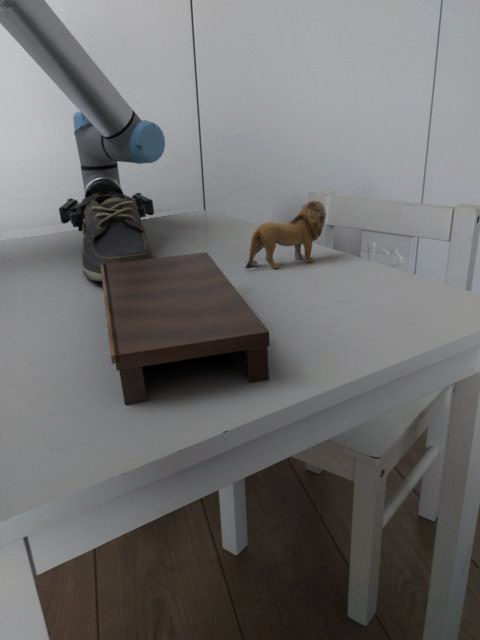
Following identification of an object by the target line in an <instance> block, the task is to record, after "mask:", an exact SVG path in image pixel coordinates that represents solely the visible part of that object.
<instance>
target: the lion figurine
mask: <svg viewBox="0 0 480 640" xmlns="http://www.w3.org/2000/svg"><path fill="white" fill-rule="evenodd" d="M326 218H327V212H326V209H325V206H324V204H323V203H322V202H321V201H318V200H308V201H307V202H304V204H302V205H301V210H300V211H299V212H298V213H297V214H296V216H295V217H294V218H293V219H291V220H290V221H289V222H281V223H280V222H272V221H271V222H269V221H268V222H264V223H261V224H260V225H259V226H258V227H256V228H255V230H254V232H253V234H252V236H251V239H250V246H249V254H248V261H247V263H246V265H245V267H244V269H250V268H251V267H256V266H258V261H256V260H254V259H255V257H256V255H257V254H258V253H259V252H260V251H262V249H264V250H265V260H266V262H267V263H268V264H269V266H270V268H272V269H280V268H281V265H280V264H279V263H277V262H275V260H274V258H273V257H274V253H275V251H276V247H277V245H278V246H281V247H294V258H295V259H296V260H303V259H304V260H305V261H306V263H311V264H312V263H314V262H315V259H314V258H313V257H311V255H312V249H313V242H315V241H317V240H318V239H319V238H320V237H321V236H322V233H323V229H324V226H325V224H326V223H325V222H326ZM302 246H303V248H304V255H303V254H302Z"/></svg>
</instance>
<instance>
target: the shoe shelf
mask: <svg viewBox="0 0 480 640" xmlns="http://www.w3.org/2000/svg"><path fill="white" fill-rule="evenodd" d="M101 274H102V281H101V282H102V290H103V299H104V300H103V301H104V309H105V318H106V327H107V336H108V344H109V345H108V346H109V353H110V360H111V361H110V362H111V364H112V365H115V369H116V371H118V373H119V378H120V379H119V380H120V384H121V390H122V396H123V402H124V403H123V404H124V405H131V404H136V403H143V402H147V401H148V398H147V397H148V396H147V390H146V383H145V375H144V369H143V367H149V366H154V365H161V364H168V363H173V362H179V361H180V362H181V361H185V360H191V359H199V358H206V357H212V356H217V355H223V354H224V355H225V354H229V353H231V355H232V356H233V358H234V360H235V361H236V363H237V364H238V366H239V368H240V370H241V371H242V374H243V375H244V377H245V379H246V380H247V382H248V383H249V384H253V383H258V382H265V381H269V380H270V367H269V365H270V364H269V347H270V345H271V344H270V343H271V341H270V340H271V339H270V331H269V330H268V328H267V327H266V326H265V324H264V323H263V322H262V321H261V319H260V318H259V316H258V315H257V314H256V313H255V312H254V311H253V309H252V308H251V307H250V305H249V304H248V303H247V301H246V300H245V299H244V297H243V296H242V295H241V294H240V292H239V291H238V290H237V289H236V288H235V286H234V285H233V284H232V282H231V281H230V280H229V279H228V277H227V276H226V275H225V273H224V272H223V271H222V269H221V268H220V267H219V266H218V265H217V263H216V262H215V260H213V258H212V257H211V256H210V255H209V253H208V252H207V251H205V252H196V253H188V254H179V255H171V256H162V257H154V258H152V259H144V260H135V261H126V262H118V263H109V264H101Z"/></svg>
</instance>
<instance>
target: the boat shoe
mask: <svg viewBox="0 0 480 640" xmlns="http://www.w3.org/2000/svg"><path fill="white" fill-rule="evenodd" d="M126 196H127V197H125V199H121V198H119V197H117V196H114V195H98V196H96V197H95V198H93V200H92V201H91V203H89V204H88V205H87V206H86V209H85V212H84V214H85V218H84V220H83V222H84V224H83V226H82V231H81V232H82V233H81V234H82V238H83V241H82V249H81V257H82V261H81V269H82V273H83V276H84V277H86V278H87V279H88V280H91V281H95V282H102V274H101V264H109V263H118V262H126V261H135V260H144V259H152V258H155V256H154V253H153V252H152V250H151V246H150V243H149V242H148V237H147V233H146V230H145V226H144V224H143V220H142V217H141V218H140V216H139V213H138V209H137V206H136V203H135V201H134V200H133V199H132V196H128V195H126Z"/></svg>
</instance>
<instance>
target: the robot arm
mask: <svg viewBox="0 0 480 640" xmlns="http://www.w3.org/2000/svg"><path fill="white" fill-rule="evenodd" d="M0 25H1V26H2V28H4V29H5V30H6V31H7V33H8V34H10V36H12V38H13V39H14V41H16V42H17V43H18V44H19V45H20V47H21V48H22V49H23V50H24V51H25V52H26V53H27V55H28V56H29V57H30V58H31V59H32V60H33V61H34V62H35V63H36V64H37V65H38V67H39V68H40V69H41V70H42V71H43V72H44V73H45V74H46V75H47V76H48V78H50V80H51V81H52V82H53V83H54V84H55V85H56V86H57V88H59V90H60V91H61V92H62V94H64V95H65V96H66V97H67V98H68V100H69V101H70V102H72V104H73V105H74V106H75V107H76V108H77V110H78V111H76V112H74V114H73V116H72V119H73V121H72V122H73V128H74V131H73V135H74V138H75V143H76V148H77V153H78V158H79V163H80V171H81V177H82V184H83V191H84V192H83V193H84V198H82V200H81V201H78V199H75V198H72V197H71V198H68V199H66V202H65V203H64V204H63V205H61V206H60V207H59V208H58V213H59V218H60V223H61V224H67V223H69V222H70V224H71V225H72V228H78V232H82V226H83V224H84V218H85V214H84V212H85V209H86V206H87V205H88V204H89V203H91V201H92V200H93V198H95V197H96V196H98V195H114V196H117V197H119V198H121V199H125V197H127V196H128V195H126V194H125V193H124V191H123V189H122V187H121V179H120V173H119V165H118V162H120V163H131V164H138V165H142V164H143V165H144V164H152V163H155V162H157V161H158V160H160V158H161V157H162V156H163V154H164V152H165V148H166V138H165V135H164V132H163V130H162V129H161V127H160V126H159V125H158V124H157V123H155V122H153V121H149V120H147V119H144V120H143V119H141V118H140V117H139V115H138V114H137V113H136V112H135V110H134V109H133V108H132V106H130V104H129V103H128V102H127V101H126V100H125V98H124V97H123V96H122V95H121V93H120V92H119V91H118V89H117V88H116V87H115V85H113V83H112V82H111V81H110V80H109V78H108V77H107V76H106V74H105V73H104V72H103V71H102V70H101V68H100V67H99V66H98V65H97V63H96V62H95V61H94V60H93V58H92V57H91V56H90V55H89V54H88V52H87V51H86V50H85V48H84V47H83V46H82V44H81V43H80V42H79V41H78V39H76V38H75V36H74V34H72V32H71V31H70V30H69V29H68V27H67V26H66V25H65V23H64V22H63V21H62V20H61V18H60V17H59V16H58V15H57V14H56V12H55V11H54V10H53V9H52V7H51V6H50V5H49V4H48V2H47V1H46V0H0ZM131 198H132V199H133V200H134V201H135V203H136V206H137V209H138V213H139V216H140V218H141V219H142V218H145V217H147V215H148V216H153V215H155V209H154V201H153V200H154V199H151V198H149V197H147V196H145V195H143V194H142V193H141V192H136V193H134V194H132V195H131Z"/></svg>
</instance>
